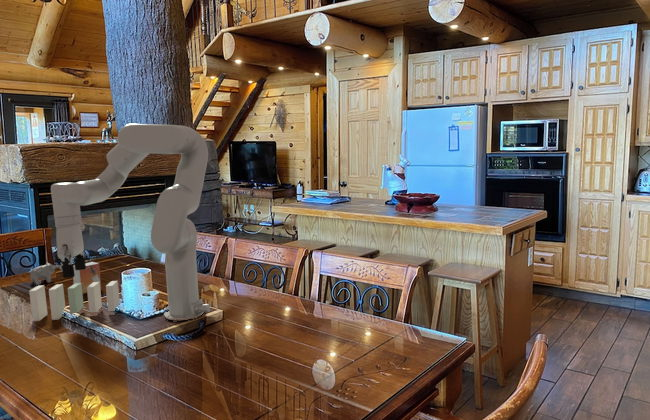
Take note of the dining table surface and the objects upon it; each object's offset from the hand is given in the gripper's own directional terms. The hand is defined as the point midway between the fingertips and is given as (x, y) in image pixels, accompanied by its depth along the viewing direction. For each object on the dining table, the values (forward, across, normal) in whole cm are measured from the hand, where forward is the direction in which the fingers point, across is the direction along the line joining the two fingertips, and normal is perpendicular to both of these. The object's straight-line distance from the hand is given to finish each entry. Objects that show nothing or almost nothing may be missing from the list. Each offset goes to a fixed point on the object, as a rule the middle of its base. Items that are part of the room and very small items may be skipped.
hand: (75, 273), depth 159 cm
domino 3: (+14, 0, -1) cm, 14 cm away
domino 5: (+14, 0, +11) cm, 18 cm away
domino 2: (+14, 0, -7) cm, 16 cm away
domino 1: (+14, 0, -12) cm, 19 cm away
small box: (+14, -29, -8) cm, 33 cm away
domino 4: (+14, 0, +5) cm, 15 cm away
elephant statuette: (+13, -48, -30) cm, 58 cm away
